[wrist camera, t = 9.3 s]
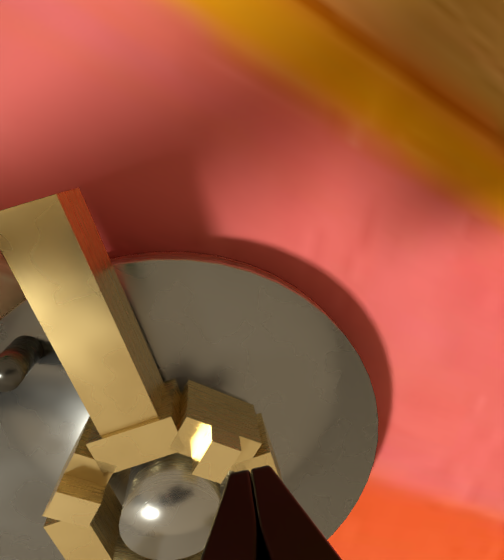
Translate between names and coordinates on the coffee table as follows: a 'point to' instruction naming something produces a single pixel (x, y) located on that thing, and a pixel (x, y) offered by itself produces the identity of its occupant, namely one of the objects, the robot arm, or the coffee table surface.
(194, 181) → the coffee table surface
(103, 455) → the brass ring wrench
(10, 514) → the flange
